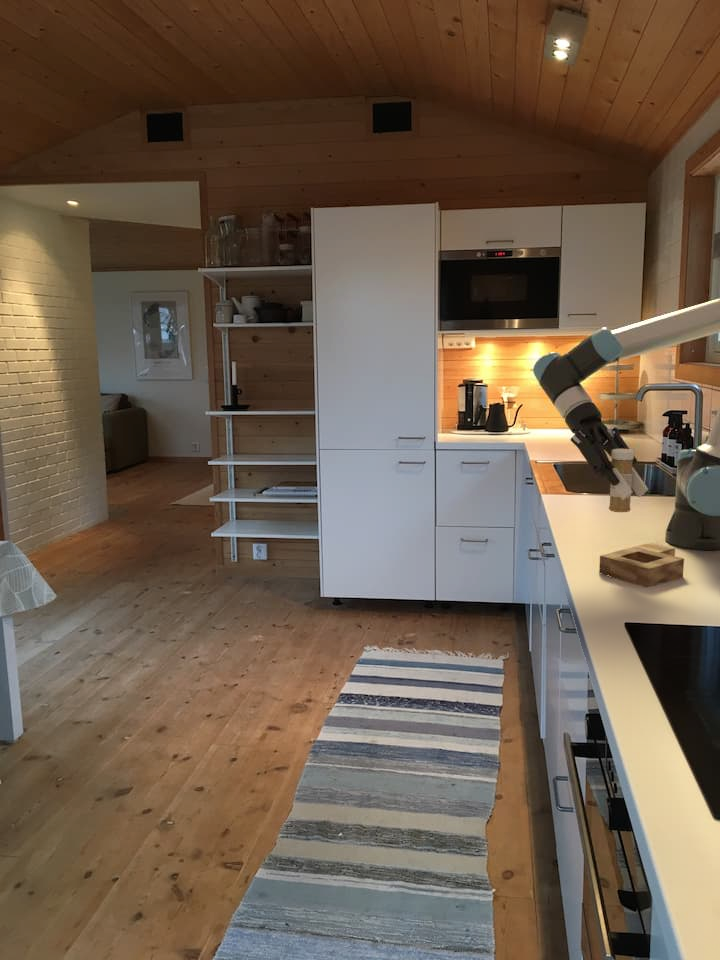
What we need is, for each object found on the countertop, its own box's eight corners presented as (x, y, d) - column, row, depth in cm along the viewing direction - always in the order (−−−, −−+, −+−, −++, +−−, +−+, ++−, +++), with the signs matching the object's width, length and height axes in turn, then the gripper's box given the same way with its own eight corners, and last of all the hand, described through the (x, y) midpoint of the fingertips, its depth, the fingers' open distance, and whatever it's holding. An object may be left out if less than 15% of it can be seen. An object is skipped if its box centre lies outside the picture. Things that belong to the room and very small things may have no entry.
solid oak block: (650, 559, 174) (651, 542, 174) (674, 565, 169) (675, 547, 169) (634, 563, 171) (635, 546, 170) (657, 570, 166) (658, 552, 165)
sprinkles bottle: (605, 508, 169) (608, 448, 166) (625, 508, 169) (628, 447, 166) (613, 513, 164) (616, 451, 162) (634, 512, 164) (637, 451, 162)
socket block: (634, 563, 171) (635, 546, 170) (682, 576, 161) (684, 558, 160) (599, 573, 164) (600, 555, 163) (647, 587, 154) (648, 568, 154)
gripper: (595, 419, 180) (650, 499, 170) (542, 424, 171) (597, 510, 161) (614, 398, 175) (673, 479, 164) (560, 402, 166) (619, 489, 155)
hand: (635, 494), depth 162 cm, fingers closed on sprinkles bottle, 4 cm apart
